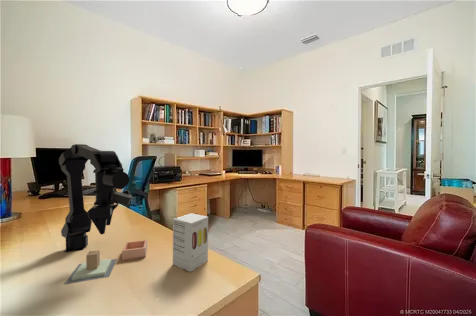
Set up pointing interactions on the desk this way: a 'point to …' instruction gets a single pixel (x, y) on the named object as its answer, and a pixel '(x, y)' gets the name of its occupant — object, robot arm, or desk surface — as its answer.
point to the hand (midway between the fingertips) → (105, 229)
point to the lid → (92, 266)
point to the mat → (91, 277)
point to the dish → (134, 250)
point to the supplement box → (190, 241)
